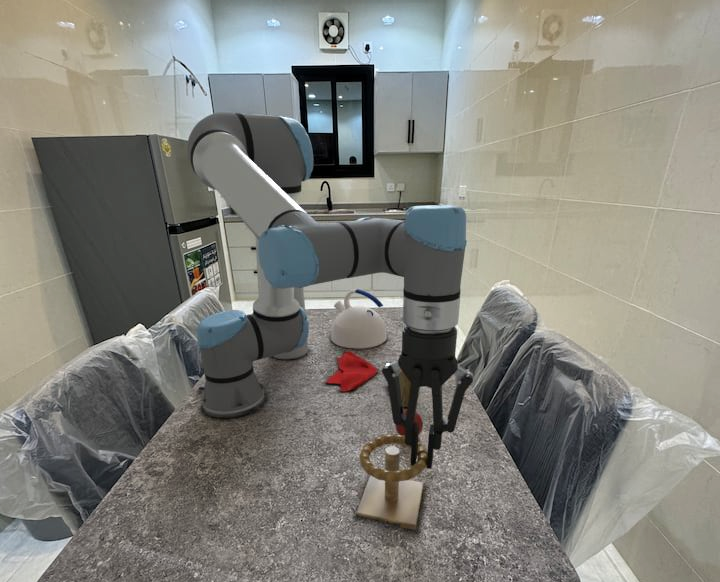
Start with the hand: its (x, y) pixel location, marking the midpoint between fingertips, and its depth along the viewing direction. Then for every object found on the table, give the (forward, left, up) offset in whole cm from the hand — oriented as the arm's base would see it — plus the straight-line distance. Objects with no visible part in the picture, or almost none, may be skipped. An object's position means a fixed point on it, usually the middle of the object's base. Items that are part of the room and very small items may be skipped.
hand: (421, 461), depth 62 cm
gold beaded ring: (-5, 0, 0) cm, 5 cm away
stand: (-5, 0, -10) cm, 11 cm away
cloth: (-26, +48, -10) cm, 56 cm away
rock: (-10, +36, -10) cm, 39 cm away
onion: (-5, +19, -10) cm, 22 cm away
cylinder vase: (-51, +56, -10) cm, 76 cm away
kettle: (-32, +74, -10) cm, 81 cm away
